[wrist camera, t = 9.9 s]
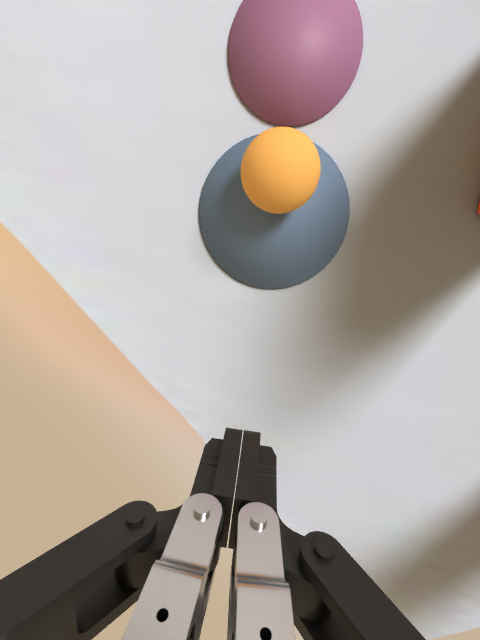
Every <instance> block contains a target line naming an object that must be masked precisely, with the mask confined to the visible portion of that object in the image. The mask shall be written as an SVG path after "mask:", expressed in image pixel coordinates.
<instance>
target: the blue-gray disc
mask: <svg viewBox="0 0 480 640" xmlns="http://www.w3.org/2000/svg"><path fill="white" fill-rule="evenodd" d="M257 136H258V135H255V136H252V137H249V138H247V139H245V140H242V141H241V142H239V143H238V144H236V145H234V146H233V147H232V148H230V149H229V150H228V151H227V152H225V153H224V154H223V156H222V157H221V158H220V159H219V160H218V161H217V162H216V164H215V165H214V167H213V168H212V169H211V171H210V173H209V175H208V177H207V179H206V181H205V184H204V186H203V190H202V194H201V198H200V205H199V221H200V228H201V232H202V236H203V239H204V242H205V244H206V247H207V249H208V251H209V252H210V254H211V256H212V257H213V259H214V260H215V261H216V263H217V264H218V265H219V266H220V267H221V268H222V269H223V270H224V271H225V272H226V273H228V274H229V275H230V276H232V277H233V278H235V279H236V280H238V281H240V282H242V283H244V284H247V285H250V286H253V287H257V288H262V289H282V288H287V287H291V286H294V285H297V284H300V283H302V282H304V281H306V280H308V279H310V278H311V277H313V276H314V275H316V274H317V273H318V272H320V271H321V270H322V269H323V268H324V267H325V266H326V265H327V264H328V263H329V262H330V261H331V259H332V258H333V257H334V255H335V254H336V252H337V251H338V249H339V247H340V245H341V243H342V241H343V238H344V236H345V233H346V229H347V225H348V219H349V198H348V192H347V188H346V184H345V181H344V179H343V176H342V174H341V172H340V170H339V168H338V167H337V165H336V163H335V162H334V161H333V160H332V158H331V157H330V156H329V155H328V154H327V153H326V152H325V151H324V150H323V149H322V148H320V147H319V146H318V145H316V144H315V143H313V144H314V145H315V147H316V149H317V151H318V154H319V158H320V165H321V171H320V178H319V182H318V185H317V187H316V189H315V191H314V193H313V195H312V196H311V197H310V199H309V200H308V201H307V202H306V203H305V204H304V205H302V206H301V207H299V208H298V209H296V210H294V211H291V212H288V213H282V214H275V213H270V212H266V211H264V210H262V209H260V208H258V207H257V206H256V205H254V204H253V203H252V202H251V200H250V199H249V198H248V196H247V195H246V193H245V191H244V188H243V185H242V181H241V163H242V159H243V156H244V153H245V151H246V149H247V148H248V146H249V144H250V143H251V142H252V141H253V140H254V139H255V138H256V137H257Z"/></svg>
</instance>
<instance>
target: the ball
mask: <svg viewBox="0 0 480 640" xmlns="http://www.w3.org/2000/svg"><path fill="white" fill-rule="evenodd" d="M320 171H321V165H320V158H319V154H318V151H317V149H316V147H315V145H314V144H313V142H312V141H311V140H310V139H309V137H307V136H306V135H305V134H304V133H302V132H301V131H299V130H297V129H294V128H291V127H275V128H271V129H268V130H266V131H264V132H262V133H261V134H259V135H258V136H257V137H256V138H255V139H254V140H253V141H252V142H251V143H250V144H249V146H248V148H247V149H246V151H245V153H244V156H243V159H242V163H241V181H242V185H243V188H244V191H245V193H246V195H247V196H248V198H249V199H250V200H251V202H252V203H253V204H254V205H256V206H257V207H258V208H260V209H262V210H264V211H266V212H270V213H275V214H282V213H288V212H291V211H294V210H296V209H298V208H299V207H301V206H302V205H304V204H305V203H306V202H307V201H308V200H309V199H310V197H311V196H312V195H313V193H314V191H315V189H316V187H317V185H318V182H319V178H320Z"/></svg>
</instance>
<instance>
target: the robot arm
mask: <svg viewBox="0 0 480 640" xmlns="http://www.w3.org/2000/svg"><path fill="white" fill-rule="evenodd" d="M242 431H243V430H239V429H232V428H226V430H225V435H224V439H223V440H222V439H215V438H212V439H211V440H210V441H209V442H208V443H207V444H206V445H205V447H204V451H203V454H202V457H201V461H200V465H199V468H198V471H197V474H196V478H195V481H194V485H193V488H192V491H191V494H190V497H189V498H188V499H187V500H186V501H185V502H184V503H183V505H181V506H180V507H178V508H176V509H172V510H167V511H159V512H157V511H156V509H155V508H154V506H153V505H151V504H150V503H148V502H145V501H133V502H130V503H127V504H125V505H124V506H122V507H120V508H119V509H117V510H115V511H114V512H112V513H111V514H109V515H107V516H105V517H104V518H102V519H100V520H99V521H97V522H95V523H94V524H92V525H90V526H89V527H87V528H85V529H84V530H82V531H80V532H79V533H77V534H75V535H74V536H72V537H71V538H69V539H67V540H66V541H64V542H62V543H61V544H59V545H57V546H56V547H54V548H52V549H51V550H49V551H47V552H46V553H44V554H43V555H41V556H39V557H37V558H36V559H34V560H32V561H31V562H29V563H27V564H26V565H24V566H22V567H21V568H19V569H17V570H16V571H14V572H13V573H11V574H9V575H8V576H6V577H4V578H3V579H1V580H0V640H91V639H93V638H94V637H95V636H96V635H97V634H99V633H100V632H101V631H102V630H103V629H104V628H106V627H107V626H108V625H109V624H110V623H112V622H113V621H114V620H115V619H116V618H117V617H119V616H120V615H121V614H122V613H123V612H125V611H126V610H127V609H128V608H129V607H130V606H132V605H133V604H134V603H135V602H136V601H137V604H136V606H135V609H134V611H133V613H132V616H131V618H130V621H129V623H128V625H127V628H126V630H125V633H124V635H123V637H122V640H199V638H200V633H201V628H202V624H203V620H204V616H205V612H206V608H207V603H208V599H209V595H210V591H211V586H212V583H213V578H214V574H215V569H216V565H217V563H218V560H219V553H220V548H221V547H225V548H226V546H227V539H228V532H229V525H230V518H231V511H232V504H233V497H234V490H235V483H236V477H237V469H238V462H239V454H240V447H241V439H242ZM228 548H231V549H234V550H233V558H232V566H231V574H230V593H229V614H228V632H227V640H295V630H294V625H295V626H296V628H297V629H298V631H299V633H300V634H301V636H302V637H303V639H304V640H426V639H425V638H424V637H423V636H422V635H421V634H420V633H419V632H418V630H417V629H416V628H415V627H414V626H413V625H412V624H411V623H410V621H409V620H408V619H407V618H406V617H405V616H404V615H403V614H402V613H401V611H400V610H399V609H398V608H397V607H396V606H395V605H394V604H393V602H392V601H391V600H390V599H389V598H388V597H387V596H386V595H385V594H384V592H383V591H382V590H381V589H380V588H379V587H378V586H377V585H376V583H375V582H374V581H373V580H372V579H371V578H370V577H369V576H368V575H367V573H366V572H365V571H364V570H363V569H362V568H361V567H360V566H359V564H358V563H357V562H356V561H355V560H354V559H353V558H352V557H351V555H350V554H349V553H348V552H347V551H346V550H345V549H344V548H343V547H342V545H341V544H340V543H339V542H338V541H337V540H336V539H335V538H333V537H332V536H331V535H329V534H327V533H324V532H319V531H314V532H310V533H308V534H307V535H305V537H304V536H302V535H300V534H298V533H296V532H294V531H292V530H291V529H289V528H288V527H287V526H286V525H285V524H284V523H283V522H282V521H281V519H280V518H279V516H278V513H277V496H276V455H275V453H274V451H273V449H272V447H268V446H261V445H260V433H259V432H252V431H246V430H244V434H243V441H242V449H241V456H240V463H239V470H238V477H237V484H236V492H235V500H234V507H233V514H232V522H231V530H230V538H229V546H228Z"/></svg>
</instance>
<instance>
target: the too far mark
mask: <svg viewBox="0 0 480 640" xmlns="http://www.w3.org/2000/svg"><path fill="white" fill-rule="evenodd" d="M362 47H363V29H362V21H361V17H360V13H359V10H358V7H357V4H356V2H355V0H243V2H242V3H241V5H240V7H239V9H238V11H237V13H236V16H235V18H234V21H233V24H232V28H231V32H230V38H229V49H228V57H229V67H230V72H231V76H232V79H233V82H234V85H235V88H236V90H237V92H238V94H239V96H240V97H241V99H242V100H243V102H244V103H245V104H246V106H247V107H248V108H249V109H250V110H251V111H252V112H253V113H254V114H256V115H257V116H259V117H260V118H261V119H263V120H265V121H267V122H270V123H273V124H276V125H281V126H298V125H303V124H307V123H310V122H312V121H315V120H317V119H319V118H320V117H322V116H324V115H325V114H326V113H328V112H329V111H330V110H332V109H333V108H334V107H335V106H336V105H337V104H338V103H339V102H340V100H341V99H342V98H343V97H344V95H345V94H346V92H347V91H348V89H349V87H350V86H351V84H352V82H353V80H354V78H355V76H356V73H357V70H358V67H359V64H360V59H361V55H362Z"/></svg>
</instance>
